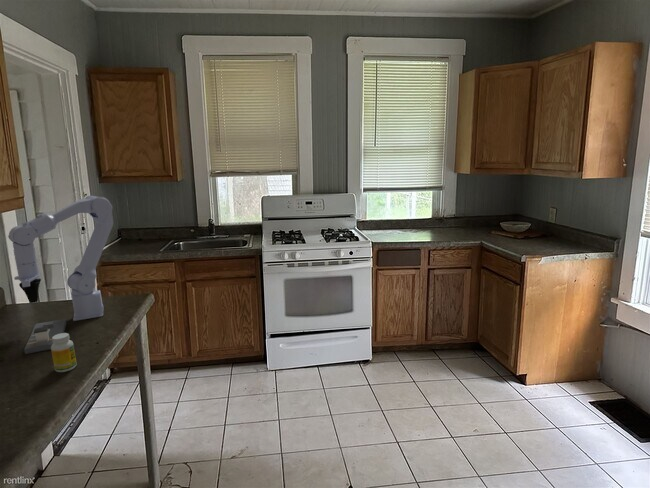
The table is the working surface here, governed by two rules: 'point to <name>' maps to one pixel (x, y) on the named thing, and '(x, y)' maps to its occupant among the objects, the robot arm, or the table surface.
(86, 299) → the robot arm
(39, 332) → the fader tab
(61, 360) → the supplement bottle
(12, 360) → the table surface
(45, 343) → the console
